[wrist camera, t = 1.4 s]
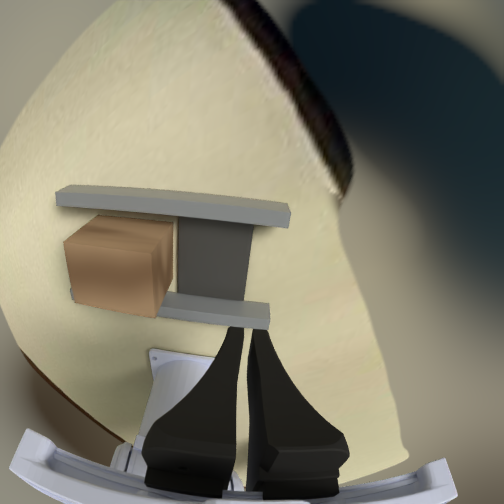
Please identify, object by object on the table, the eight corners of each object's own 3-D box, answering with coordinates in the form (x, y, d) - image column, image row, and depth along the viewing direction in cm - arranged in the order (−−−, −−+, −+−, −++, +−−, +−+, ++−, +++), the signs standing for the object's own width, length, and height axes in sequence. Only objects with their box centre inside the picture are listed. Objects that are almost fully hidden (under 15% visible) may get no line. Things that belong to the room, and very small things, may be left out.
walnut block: (173, 277, 22) (155, 318, 17) (104, 267, 21) (75, 302, 17) (173, 221, 20) (151, 253, 15) (98, 214, 19) (63, 242, 15)
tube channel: (267, 313, 23) (268, 329, 21) (82, 286, 22) (72, 299, 20) (287, 203, 19) (291, 212, 17) (70, 184, 18) (55, 192, 16)
